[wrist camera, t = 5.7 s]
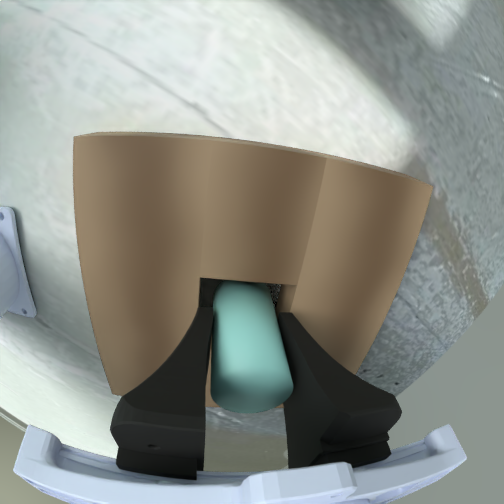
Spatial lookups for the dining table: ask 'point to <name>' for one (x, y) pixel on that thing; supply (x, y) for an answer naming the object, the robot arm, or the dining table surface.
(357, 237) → the socket board
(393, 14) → the dining table surface
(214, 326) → the peg
